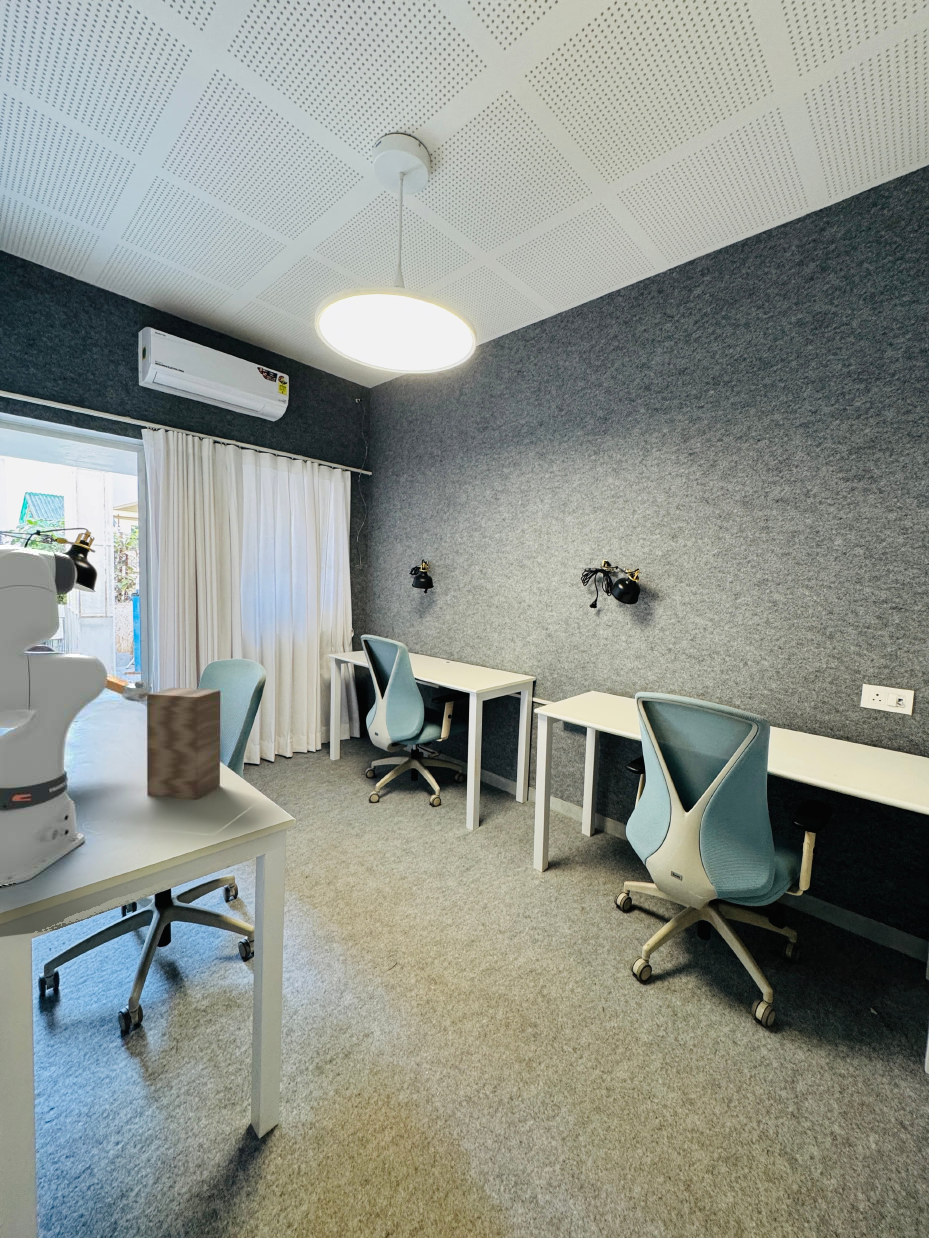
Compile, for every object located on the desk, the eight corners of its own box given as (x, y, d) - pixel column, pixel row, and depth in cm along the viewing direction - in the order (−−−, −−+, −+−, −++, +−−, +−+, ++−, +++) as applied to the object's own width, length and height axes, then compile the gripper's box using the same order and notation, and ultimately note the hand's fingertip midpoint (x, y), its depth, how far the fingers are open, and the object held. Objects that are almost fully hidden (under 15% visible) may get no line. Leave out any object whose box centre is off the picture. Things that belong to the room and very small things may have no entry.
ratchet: (154, 698, 133) (158, 684, 133) (136, 703, 127) (140, 688, 127) (85, 672, 135) (89, 657, 135) (65, 675, 129) (69, 660, 129)
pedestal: (219, 785, 133) (220, 690, 132) (197, 799, 124) (197, 697, 123) (172, 781, 135) (172, 687, 134) (147, 794, 126) (147, 694, 125)
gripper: (1, 689, 124) (42, 664, 122) (75, 676, 144) (112, 654, 142) (12, 712, 123) (54, 687, 122) (85, 695, 144) (122, 674, 142)
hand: (86, 669), depth 132 cm, fingers closed on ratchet, 3 cm apart
